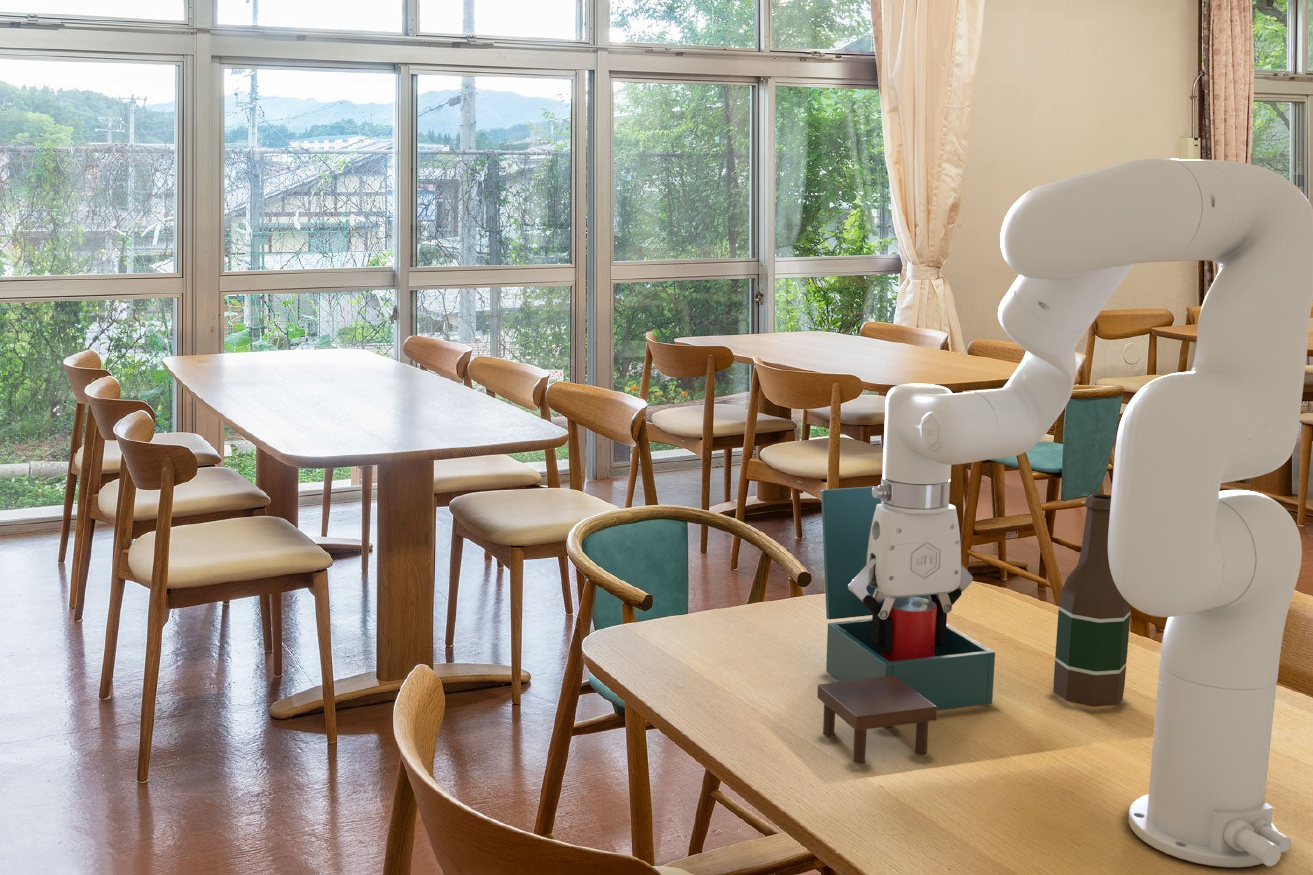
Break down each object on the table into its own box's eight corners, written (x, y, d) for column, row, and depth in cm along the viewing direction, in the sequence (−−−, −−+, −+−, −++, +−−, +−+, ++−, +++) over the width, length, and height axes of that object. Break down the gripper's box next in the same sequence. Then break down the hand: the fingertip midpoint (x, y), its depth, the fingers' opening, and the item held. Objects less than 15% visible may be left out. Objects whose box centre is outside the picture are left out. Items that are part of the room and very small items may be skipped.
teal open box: (991, 709, 143) (995, 652, 142) (883, 723, 139) (886, 664, 137) (926, 665, 156) (928, 612, 155) (825, 677, 152) (827, 622, 151)
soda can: (942, 692, 145) (947, 608, 144) (895, 698, 144) (899, 613, 142) (916, 674, 151) (920, 593, 149) (871, 679, 149) (874, 597, 147)
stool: (934, 762, 129) (937, 706, 128) (854, 773, 126) (856, 716, 125) (891, 727, 138) (893, 675, 136) (815, 737, 135) (817, 684, 134)
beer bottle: (1128, 716, 141) (1145, 506, 137) (1056, 709, 143) (1070, 502, 139) (1118, 690, 149) (1133, 490, 145) (1049, 685, 150) (1062, 487, 146)
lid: (925, 483, 155) (921, 483, 155) (823, 490, 150) (820, 489, 151) (930, 609, 155) (927, 608, 156) (829, 619, 151) (826, 618, 151)
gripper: (861, 506, 137) (855, 664, 140) (1000, 496, 142) (991, 649, 146) (831, 491, 144) (826, 642, 147) (964, 482, 149) (956, 628, 153)
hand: (908, 644), depth 146 cm, fingers closed on soda can, 6 cm apart
